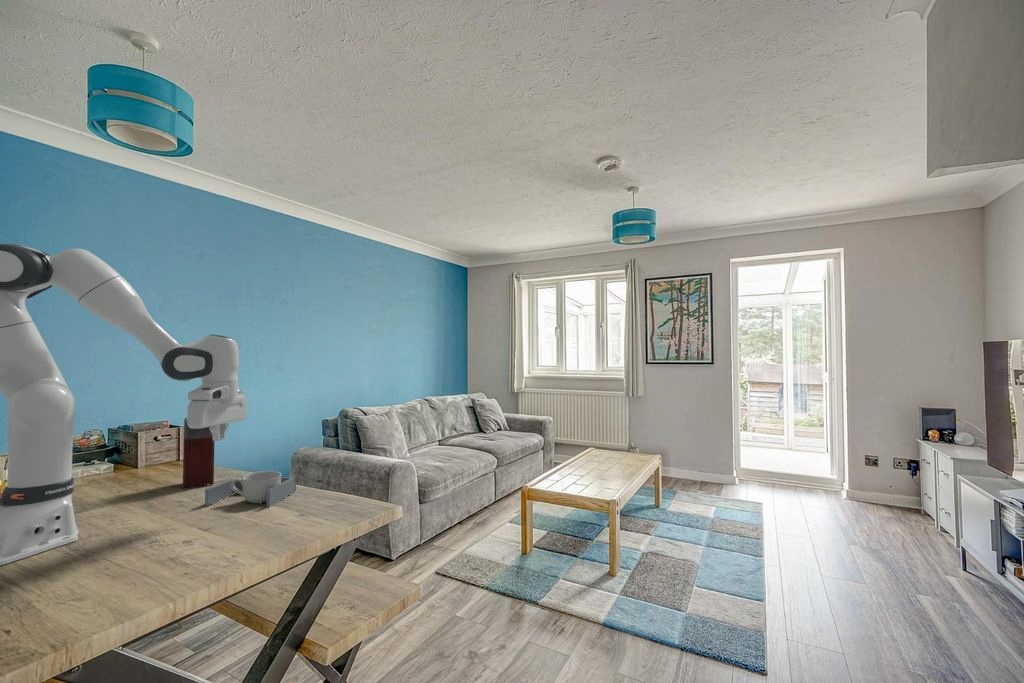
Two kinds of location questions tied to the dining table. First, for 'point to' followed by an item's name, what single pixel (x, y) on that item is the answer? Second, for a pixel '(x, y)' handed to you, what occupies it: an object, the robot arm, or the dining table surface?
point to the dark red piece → (197, 456)
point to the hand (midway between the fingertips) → (218, 440)
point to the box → (225, 490)
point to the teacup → (257, 485)
